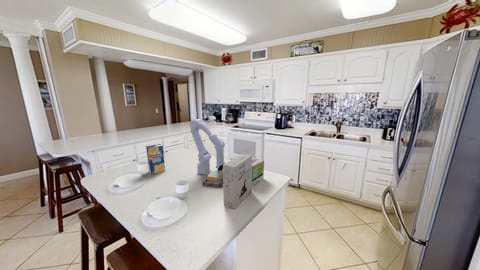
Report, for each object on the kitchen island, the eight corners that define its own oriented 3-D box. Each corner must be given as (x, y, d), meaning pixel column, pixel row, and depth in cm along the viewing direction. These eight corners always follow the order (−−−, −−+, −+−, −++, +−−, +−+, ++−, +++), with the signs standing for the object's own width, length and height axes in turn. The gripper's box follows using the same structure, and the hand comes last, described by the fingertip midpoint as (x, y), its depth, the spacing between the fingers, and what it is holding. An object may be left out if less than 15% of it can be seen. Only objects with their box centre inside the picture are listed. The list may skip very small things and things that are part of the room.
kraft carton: (207, 182, 129) (207, 176, 128) (213, 175, 140) (213, 169, 139) (217, 183, 127) (217, 177, 126) (223, 176, 139) (223, 170, 138)
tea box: (253, 186, 123) (253, 166, 120) (241, 182, 129) (241, 163, 126) (263, 178, 135) (264, 160, 131) (252, 175, 141) (253, 157, 137)
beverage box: (165, 170, 148) (162, 145, 143) (151, 174, 141) (147, 147, 137) (162, 168, 153) (160, 143, 149) (148, 171, 147) (145, 146, 142)
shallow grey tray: (202, 185, 124) (202, 182, 123) (210, 176, 138) (210, 173, 138) (220, 187, 121) (220, 184, 121) (227, 177, 136) (227, 174, 135)
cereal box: (234, 209, 98) (234, 167, 93) (223, 205, 102) (222, 164, 96) (251, 191, 116) (252, 155, 111) (241, 188, 120) (241, 153, 115)
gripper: (222, 160, 130) (222, 177, 133) (227, 154, 144) (227, 170, 146) (212, 159, 131) (213, 176, 134) (219, 153, 145) (219, 169, 148)
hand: (220, 173), depth 140 cm, fingers closed
